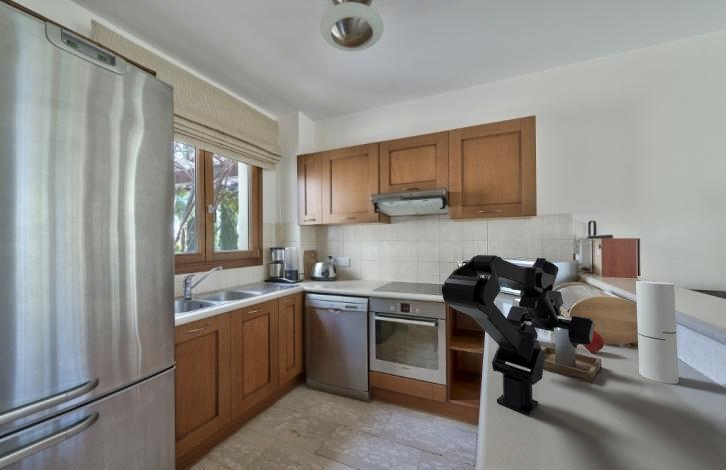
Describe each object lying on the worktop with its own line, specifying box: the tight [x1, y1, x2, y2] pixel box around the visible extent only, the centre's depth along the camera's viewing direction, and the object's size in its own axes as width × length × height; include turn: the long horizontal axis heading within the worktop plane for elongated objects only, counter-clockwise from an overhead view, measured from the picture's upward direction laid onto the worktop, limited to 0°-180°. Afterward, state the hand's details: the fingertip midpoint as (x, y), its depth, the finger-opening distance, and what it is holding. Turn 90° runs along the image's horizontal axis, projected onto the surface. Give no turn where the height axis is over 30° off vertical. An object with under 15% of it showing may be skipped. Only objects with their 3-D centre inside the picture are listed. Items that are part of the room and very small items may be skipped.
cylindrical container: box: [635, 280, 679, 385], centre depth 75 cm, size 7×7×25 cm
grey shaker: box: [554, 315, 577, 368], centre depth 80 cm, size 5×5×13 cm
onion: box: [582, 329, 605, 354], centre depth 91 cm, size 6×6×8 cm
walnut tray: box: [541, 345, 602, 385], centre depth 80 cm, size 14×14×2 cm
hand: (555, 341), depth 76 cm, fingers open, 9 cm apart
